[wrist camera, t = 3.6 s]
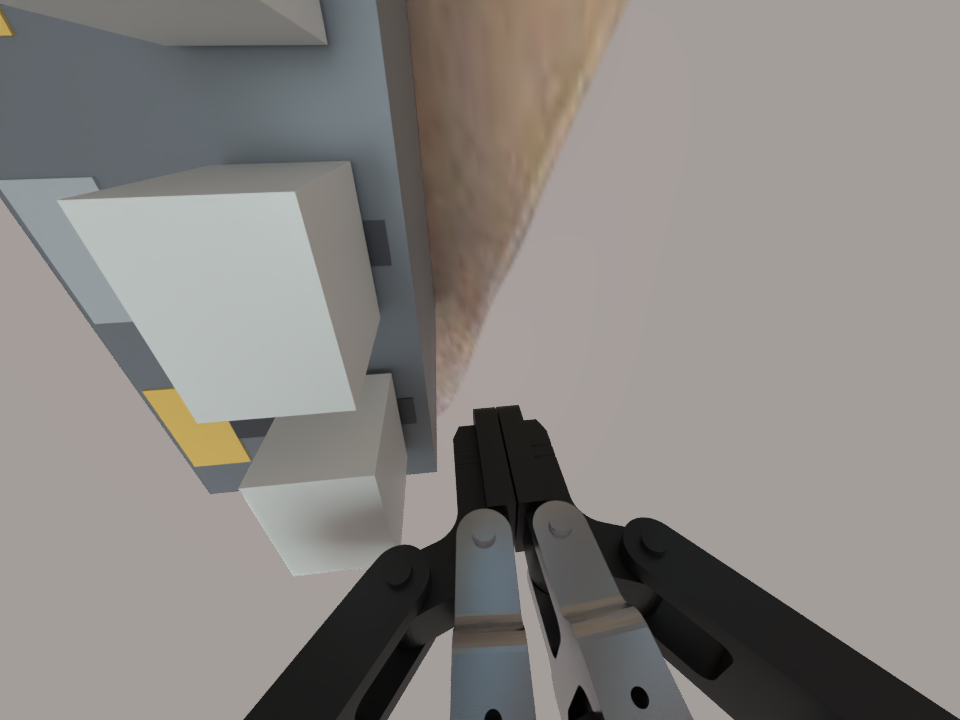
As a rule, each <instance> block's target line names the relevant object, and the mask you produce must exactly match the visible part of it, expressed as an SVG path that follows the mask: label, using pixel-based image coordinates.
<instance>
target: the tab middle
mask: <svg viewBox="0 0 960 720" xmlns="http://www.w3.org/2000/svg"><path fill="white" fill-rule="evenodd" d="M57 202H58V203H59V205H60V207H61V208H62V210H63V211H64V213H65V214H66V216H67V218H68V219H69V221H70V222H71V224H72V226H73V227H74V229H75V230H76V232H77V234H78V235H79V237H80V238H81V240H82V241H83V243H84V245H85V246H86V248H87V249H88V251H89V253H90V254H91V256H92V257H93V259H94V261H95V262H96V264H97V265H98V267H99V268H100V270H101V272H102V273H103V275H104V276H105V278H106V280H107V281H108V283H109V284H110V286H111V288H112V289H113V291H114V292H115V294H116V296H117V297H118V299H119V300H120V302H121V303H122V305H123V307H124V308H125V310H126V311H127V313H128V315H129V316H130V318H131V319H132V321H133V323H134V324H135V326H136V327H137V329H138V330H139V332H140V334H141V335H142V337H143V338H144V340H145V342H146V343H147V345H148V346H149V348H150V350H151V351H152V353H153V354H154V356H155V357H156V359H157V361H158V362H159V364H160V365H161V367H162V369H163V370H164V372H165V373H166V375H167V377H168V378H169V380H170V381H171V383H172V384H173V386H174V388H175V389H176V391H177V392H178V394H179V396H180V397H181V399H182V400H183V402H184V404H185V405H186V407H187V408H188V410H189V411H190V413H191V415H192V416H193V418H194V419H195V421H196V423H197V424H200V423H212V422H224V421H236V420H248V419H260V418H271V417H283V416H295V415H307V414H319V413H331V412H343V411H355V410H357V406H358V402H359V398H360V395H361V391H362V387H363V383H364V379H365V375H366V371H367V368H368V364H369V360H370V356H371V352H372V348H373V344H374V341H375V337H376V333H377V329H378V325H379V321H380V318H381V317H380V312H379V307H378V302H377V297H376V292H375V286H374V281H373V276H372V271H371V266H370V261H369V255H368V250H367V245H366V240H365V235H364V229H363V224H362V219H361V214H360V209H359V204H358V198H357V193H356V188H355V183H354V178H353V173H352V167H351V162H350V161H321V162H289V163H256V164H223V165H209V166H204V167H200V168H196V169H191V170H187V171H182V172H178V173H174V174H169V175H165V176H161V177H156V178H152V179H147V180H143V181H139V182H134V183H130V184H125V185H121V186H117V187H112V188H108V189H104V190H99V191H95V192H90V193H86V194H82V195H77V196H73V197H69V198H64V199H60V200H57Z"/></svg>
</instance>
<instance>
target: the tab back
mask: <svg viewBox="0 0 960 720" xmlns="http://www.w3.org/2000/svg"><path fill="white" fill-rule="evenodd" d="M406 471H407V452H406V447H405V442H404V437H403V431H402V426H401V421H400V416H399V411H398V405H397V400H396V395H395V390H394V385H393V380H392V374H391V373H386V374H373V375H365V379H364V383H363V387H362V391H361V395H360V398H359V402H358V406H357V410H355V411H343V412H331V413H319V414H307V415H295V416H283V417H275V419H274V421H273V423H272V425H271V427H270V429H269V430H268V432H267V434H266V436H265V438H264V440H263V442H262V444H261V446H260V448H259V450H258V452H257V454H256V455H255V457H254V459H253V461H252V463H251V465H250V467H249V469H248V471H247V473H246V475H245V477H244V478H243V480H242V482H241V484H240V486H239V488H238V489H239V491H240V492H241V494H242V496H243V497H244V499H245V500H246V502H247V504H248V505H249V507H250V508H251V510H252V512H253V513H254V515H255V516H256V518H257V519H258V521H259V523H260V524H261V526H262V527H263V529H264V530H265V532H266V534H267V535H268V537H269V538H270V540H271V542H272V543H273V545H274V546H275V548H276V550H277V551H278V553H279V554H280V556H281V558H282V559H283V561H284V562H285V564H286V566H287V567H288V568H289V570H290V572H291V573H292V575H293V576H300V575H309V574H317V573H326V572H335V571H343V570H352V569H360V568H369V567H371V565H372V564H373V563H374V562H375V561H376V559H377V558H378V557H379V556H380V555H381V554H382V553H384V552H385V551H386V550H388V549H390V548H392V547H394V546H398V545H401V537H402V536H401V535H402V523H403V509H404V497H405V484H406Z"/></svg>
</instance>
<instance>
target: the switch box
mask: <svg viewBox="0 0 960 720" xmlns="http://www.w3.org/2000/svg"><path fill="white" fill-rule="evenodd" d="M319 2H320V7H321V12H322V17H323V22H324V28H325V33H326V38H327V43H328V45H229V46H164V45H160V44H156V43H152V42H148V41H145V40H141V39H137V38H133V37H129V36H125V35H121V34H117V33H113V32H109V31H105V30H101V29H98V28H94V27H90V26H86V25H82V24H78V23H74V22H70V21H66V20H62V19H58V18H54V17H51V16H47V15H43V14H39V13H35V12H31V11H27V10H23V9H19V8H15V7H11V6H7V5H4V4H0V198H1V199H2V200H3V202H4V203H5V205H6V206H7V208H8V209H9V211H10V212H11V213H12V215H13V216H14V217H15V219H16V220H17V222H18V223H19V225H20V226H21V227H22V229H23V230H24V232H25V233H26V234H27V236H28V237H29V239H30V240H31V242H32V243H33V244H34V246H35V247H36V249H37V250H38V251H39V253H40V254H41V256H42V257H43V258H44V260H45V261H46V263H47V264H48V266H49V267H50V268H51V270H52V271H53V273H54V274H55V275H56V277H57V278H58V280H59V281H60V283H61V284H62V285H63V287H64V288H65V290H66V291H67V292H68V294H69V295H70V297H71V298H72V299H73V301H74V302H75V304H76V305H77V307H78V308H79V309H80V311H81V312H82V314H83V315H84V316H85V318H86V319H87V321H88V322H89V323H90V325H91V326H92V328H93V329H94V331H95V332H96V333H97V335H98V336H99V338H100V339H101V340H102V342H103V343H104V345H105V346H106V348H107V349H108V350H109V352H110V353H111V354H112V356H113V357H114V359H115V360H116V362H117V363H118V364H119V366H120V367H121V369H122V370H123V371H124V373H125V374H126V376H127V377H128V378H129V380H130V381H131V383H132V384H133V386H134V387H135V388H136V390H137V391H138V393H139V394H140V396H141V397H142V398H143V400H144V401H145V403H146V404H147V405H148V407H149V408H150V410H151V411H152V412H153V414H154V415H155V417H156V418H157V420H158V421H159V422H160V423H161V425H162V427H163V428H164V429H165V431H166V432H167V434H168V435H169V436H170V438H171V439H172V441H173V442H174V444H175V445H176V446H177V448H178V449H179V451H180V452H181V453H182V455H183V456H184V458H185V459H186V460H187V462H188V463H189V465H190V466H191V467H192V469H193V470H194V472H195V473H196V475H197V476H198V477H199V479H200V480H201V482H202V483H203V484H204V486H205V487H206V489H207V490H208V492H209V493H210V494H215V493H224V492H234V491H239V489H238V488H239V486H240V484H241V482H242V480H243V478H244V477H245V475H246V473H247V471H248V469H249V467H250V465H251V463H252V461H253V459H254V457H255V455H256V454H257V452H258V450H259V448H260V446H261V444H262V442H263V440H264V438H265V436H266V434H267V432H268V430H269V429H270V427H271V425H272V423H273V421H274V419H275V417H271V418H260V419H248V420H236V421H224V422H212V423H200V424H197V423H196V421H195V419H194V418H193V416H192V415H191V413H190V411H189V410H188V408H187V407H186V405H185V404H184V402H183V400H182V399H181V397H180V396H179V394H178V392H177V391H176V389H175V388H174V386H173V384H172V383H171V381H170V380H169V378H168V377H167V375H166V373H165V372H164V370H163V369H162V367H161V365H160V364H159V362H158V361H157V359H156V357H155V356H154V354H153V353H152V351H151V350H150V348H149V346H148V345H147V343H146V342H145V340H144V338H143V337H142V335H141V334H140V332H139V330H138V329H137V327H136V326H135V324H134V323H133V321H132V319H131V318H130V316H129V315H128V313H127V311H126V310H125V308H124V307H123V305H122V303H121V302H120V300H119V299H118V297H117V296H116V294H115V292H114V291H113V289H112V288H111V286H110V284H109V283H108V281H107V280H106V278H105V276H104V275H103V273H102V272H101V270H100V268H99V267H98V265H97V264H96V262H95V261H94V259H93V257H92V256H91V254H90V253H89V251H88V249H87V248H86V246H85V245H84V243H83V241H82V240H81V238H80V237H79V235H78V234H77V232H76V230H75V229H74V227H73V226H72V224H71V222H70V221H69V219H68V218H67V216H66V214H65V213H64V211H63V210H62V208H61V207H60V205H59V203H58V202H57V200H60V199H64V198H69V197H73V196H77V195H82V194H86V193H90V192H95V191H99V190H104V189H108V188H112V187H117V186H121V185H125V184H130V183H134V182H139V181H143V180H147V179H152V178H156V177H161V176H165V175H169V174H174V173H178V172H182V171H187V170H191V169H196V168H200V167H204V166H209V165H223V164H256V163H289V162H321V161H350V162H351V167H352V173H353V178H354V183H355V188H356V193H357V198H358V204H359V209H360V214H361V219H362V224H363V229H364V235H365V240H366V245H367V250H368V255H369V261H370V266H371V271H372V276H373V281H374V286H375V292H376V297H377V302H378V307H379V312H380V317H381V318H380V321H379V325H378V329H377V333H376V337H375V341H374V344H373V348H372V352H371V356H370V360H369V364H368V368H367V371H366V375H373V374H386V373H391V374H392V380H393V385H394V390H395V395H396V400H397V405H398V411H399V416H400V421H401V426H402V431H403V437H404V442H405V447H406V452H407V471H406V475H407V474H419V473H429V472H437V435H436V434H437V432H436V334H435V298H434V288H433V277H432V267H431V256H430V246H429V235H428V225H427V214H426V204H425V194H424V183H423V173H422V162H421V152H420V141H419V131H418V120H417V110H416V100H415V89H414V79H413V68H412V58H411V47H410V37H409V26H408V16H407V6H406V0H319Z"/></svg>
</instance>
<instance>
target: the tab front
mask: <svg viewBox="0 0 960 720" xmlns="http://www.w3.org/2000/svg"><path fill="white" fill-rule="evenodd" d="M0 4H4V5H7V6H11V7H15V8H19V9H23V10H27V11H31V12H35V13H39V14H43V15H47V16H51V17H54V18H58V19H62V20H66V21H70V22H74V23H78V24H82V25H86V26H90V27H94V28H98V29H101V30H105V31H109V32H113V33H117V34H121V35H125V36H129V37H133V38H137V39H141V40H145V41H148V42H152V43H156V44H160V45H164V46H229V45H328V43H327V38H326V33H325V28H324V22H323V17H322V12H321V7H320V2H319V0H0Z"/></svg>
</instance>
